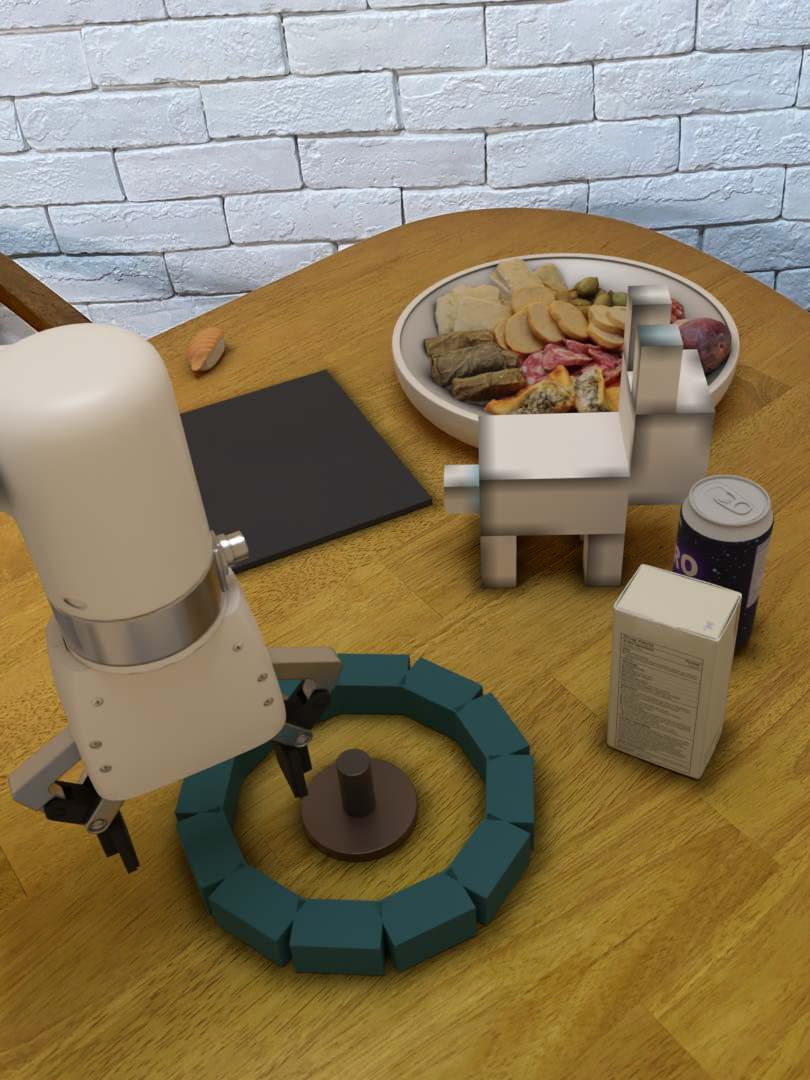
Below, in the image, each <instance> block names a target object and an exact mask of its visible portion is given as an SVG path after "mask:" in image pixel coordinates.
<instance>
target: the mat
mask: <svg viewBox="0 0 810 1080" xmlns="http://www.w3.org/2000/svg"><path fill="white" fill-rule="evenodd" d="M330 373H331V372H329V371H328V369H322V370H320V371H316V372H313V373H310V374H306V375H303V376H300V377H296V378H293V379H290V380H287V381H283V382H280V383H277V384H273V385H270V386H266V387H263V388H261V389H260V388H259V389H258V390H253V391H250V392H247V393H243V394H242V395H237V396H234V397H231V398H227V399H225V400H221V401H218V402H215V403H212V404H211V403H210V404H208V405H205V406H201V407H198V408H194V409H192V410H188V411H185V412H182V413H179V414H180V418H181V421H182V425H183V429H184V433H185V437H186V441H187V445H188V449H189V453H190V457H191V461H192V464H193V468H194V472H195V476H196V480H197V484H198V487H199V491H200V495H201V499H202V503H203V506H204V510H205V514H206V518H207V521H208V525H209V529H210V531H212V530H213V531H214V533H215V535H216V536H217V535H219V534H222V533H223V534H224V535H228V534H231V533H234V532H236V531H240V532H241V533H242V535H243V537H244V539H245V542H246V544H247V547H248V551H249V558H246V559H243V560H241V561H238V562H235V566H232V567H230V568H231V570H232V571H233V573H234V574H235V575H236V574H239V573H241V572H244V571H247V570H250V569H253V568H255V567H258V566H261V565H263V564H267V563H270V562H273V561H276V560H278V559H281V558H284V557H287V556H290V555H292V554H295V553H298V552H301V551H303V550H306V549H309V548H312V547H314V546H315V547H316V546H318V545H321V544H323V543H326V542H329V541H332V540H334V539H337V538H340V537H343V536H346V535H349V534H352V533H354V532H357V531H360V530H363V529H366V528H368V527H371V526H374V525H377V524H379V523H382V522H386V521H388V520H391V519H394V518H397V517H400V516H403V515H405V514H408V513H411V512H414V511H416V510H419V509H422V508H425V507H428V506H431V505H433V498H432V496H431V494H429V493H428V491H427V490H426V489H425V488H424V486H423V485H422V484H421V483H420V482H419V480H418V479H417V478H416V477H415V476H414V474H413V473H412V472H411V470H410V469H409V468H408V466H406V465H405V463H404V462H403V461H402V460H401V458H400V457H399V456H398V455H397V453H395V450H393V449H392V447H391V446H390V445H389V444H388V442H386V440H385V439H384V438H383V437H382V435H381V434H380V433H379V432H378V430H377V429H376V428H375V427H374V425H373V424H372V423H371V422H370V421H369V419H368V418H367V417H366V416H365V414H364V413H363V412H362V411H361V410H360V409H359V407H358V406H357V405H356V404H355V402H353V400H352V399H351V398H350V396H349V395H348V394H347V393H346V392H345V390H344V389H343V388H342V386H341V385H340V384H339V383H338V381H336V380H335V378H334V377H333V375H331V374H330Z"/></svg>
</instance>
